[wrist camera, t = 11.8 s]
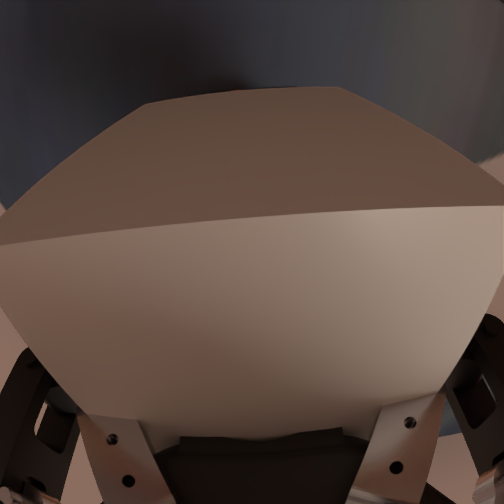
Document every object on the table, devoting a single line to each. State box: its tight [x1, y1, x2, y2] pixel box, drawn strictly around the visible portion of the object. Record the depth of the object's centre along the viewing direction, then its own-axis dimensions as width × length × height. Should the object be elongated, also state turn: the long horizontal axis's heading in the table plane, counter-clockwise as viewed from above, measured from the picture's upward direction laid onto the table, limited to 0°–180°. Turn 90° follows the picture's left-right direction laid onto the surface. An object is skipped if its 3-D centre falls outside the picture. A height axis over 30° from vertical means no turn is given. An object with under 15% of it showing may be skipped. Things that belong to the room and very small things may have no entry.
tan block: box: [0, 87, 504, 453], centre depth 9 cm, size 7×11×9 cm, turn 4°
